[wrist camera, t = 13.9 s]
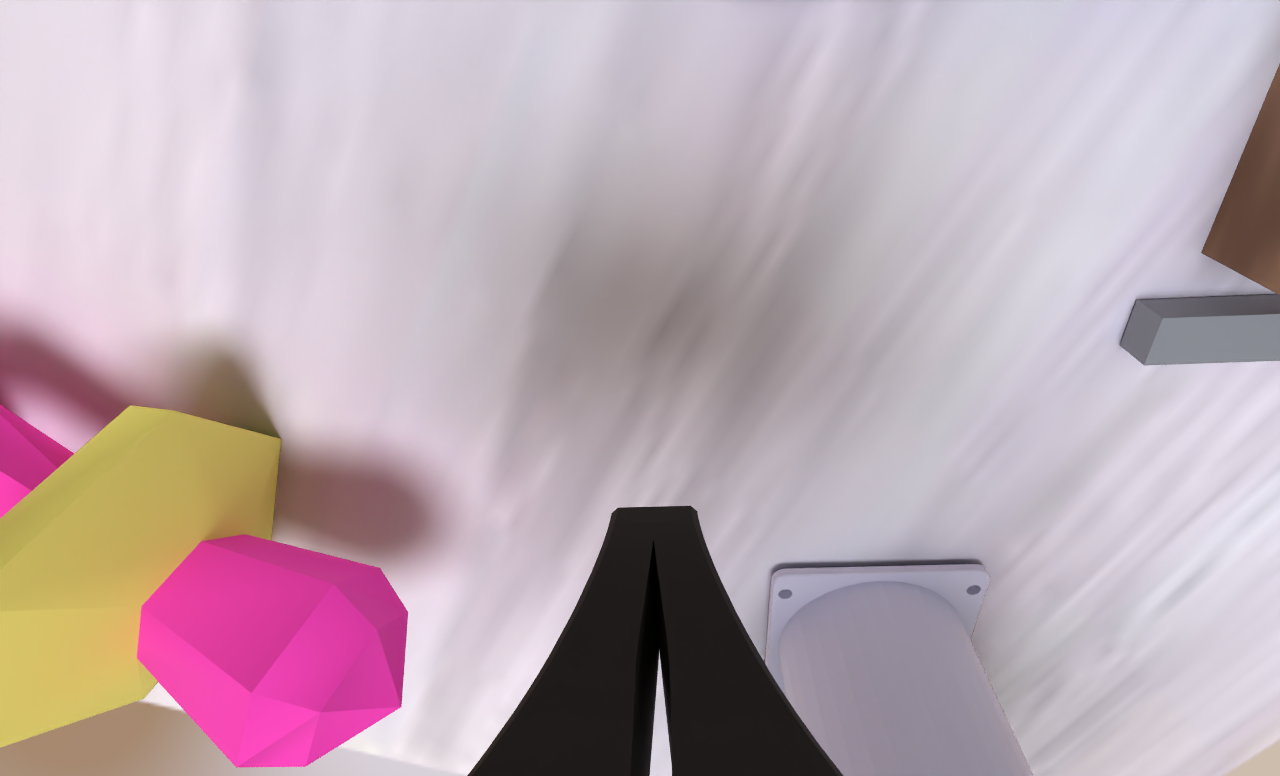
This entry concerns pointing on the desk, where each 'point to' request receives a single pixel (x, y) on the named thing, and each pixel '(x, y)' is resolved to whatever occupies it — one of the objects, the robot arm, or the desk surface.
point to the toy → (182, 593)
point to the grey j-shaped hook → (1204, 330)
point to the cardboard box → (1253, 203)
